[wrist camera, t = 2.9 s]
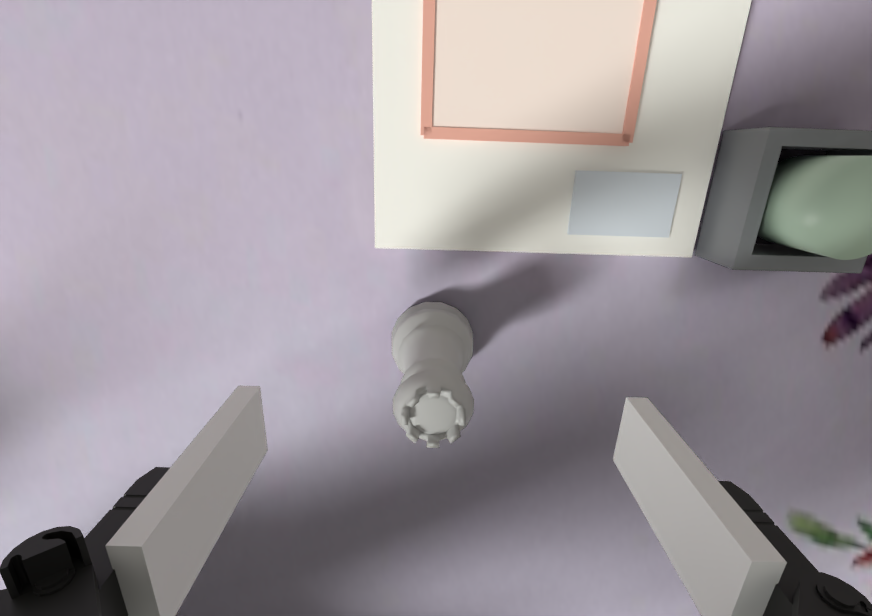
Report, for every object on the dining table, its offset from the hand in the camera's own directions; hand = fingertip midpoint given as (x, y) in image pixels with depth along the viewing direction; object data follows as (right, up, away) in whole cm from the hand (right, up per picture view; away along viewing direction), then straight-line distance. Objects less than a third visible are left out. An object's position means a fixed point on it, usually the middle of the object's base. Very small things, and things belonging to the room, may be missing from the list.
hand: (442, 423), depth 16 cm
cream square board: (+5, +15, +4) cm, 16 cm away
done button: (+16, +9, +4) cm, 19 cm away
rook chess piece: (0, +3, +8) cm, 9 cm away
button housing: (+16, +10, +6) cm, 20 cm away
